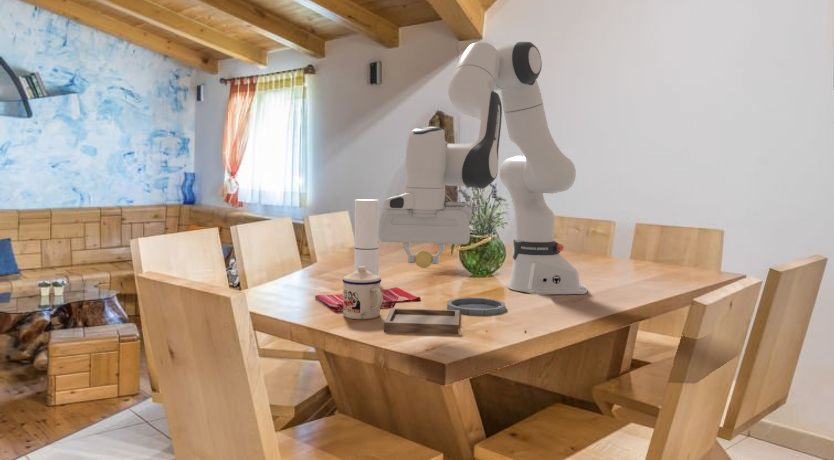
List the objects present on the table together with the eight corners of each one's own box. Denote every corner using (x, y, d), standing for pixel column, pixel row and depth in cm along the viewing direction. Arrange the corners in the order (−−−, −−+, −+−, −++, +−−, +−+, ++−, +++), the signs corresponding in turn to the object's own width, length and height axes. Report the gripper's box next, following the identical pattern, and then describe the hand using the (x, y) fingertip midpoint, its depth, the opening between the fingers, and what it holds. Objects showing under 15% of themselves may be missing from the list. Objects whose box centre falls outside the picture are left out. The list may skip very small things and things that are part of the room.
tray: (459, 318, 153) (459, 310, 153) (458, 334, 139) (458, 324, 139) (391, 316, 154) (391, 308, 154) (383, 331, 140) (384, 322, 140)
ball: (432, 266, 147) (433, 249, 147) (431, 269, 143) (432, 251, 143) (415, 266, 147) (415, 248, 147) (413, 268, 143) (414, 250, 143)
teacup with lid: (334, 314, 155) (334, 266, 154) (365, 309, 161) (365, 262, 160) (365, 324, 146) (365, 273, 145) (396, 318, 152) (397, 269, 151)
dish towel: (423, 307, 167) (423, 297, 167) (334, 315, 157) (334, 304, 157) (396, 294, 182) (396, 285, 182) (314, 301, 172) (314, 291, 172)
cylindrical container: (380, 282, 198) (380, 199, 195) (376, 286, 191) (376, 200, 188) (356, 281, 199) (357, 199, 196) (352, 285, 192) (352, 200, 189)
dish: (503, 306, 166) (503, 298, 166) (506, 320, 152) (506, 310, 152) (448, 305, 167) (448, 296, 167) (446, 318, 153) (446, 308, 153)
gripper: (472, 201, 146) (470, 262, 148) (381, 199, 148) (380, 259, 149) (472, 202, 140) (470, 266, 141) (377, 200, 141) (376, 263, 143)
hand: (423, 263), depth 145 cm, fingers closed on ball, 4 cm apart
